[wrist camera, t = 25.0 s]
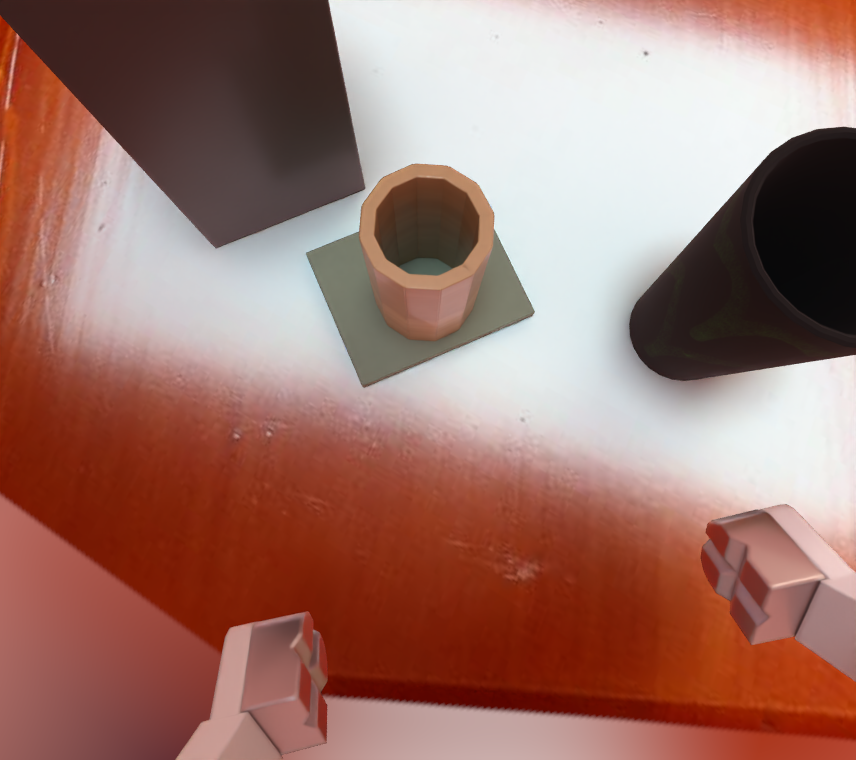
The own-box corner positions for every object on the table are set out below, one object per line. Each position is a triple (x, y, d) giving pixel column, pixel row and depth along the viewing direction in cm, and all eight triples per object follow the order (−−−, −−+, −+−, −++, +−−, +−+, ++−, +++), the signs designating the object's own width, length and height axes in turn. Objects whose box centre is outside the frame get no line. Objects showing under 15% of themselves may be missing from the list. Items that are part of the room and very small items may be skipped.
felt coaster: (363, 387, 28) (362, 386, 27) (307, 257, 29) (305, 252, 29) (532, 315, 29) (535, 311, 28) (471, 190, 30) (472, 185, 29)
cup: (752, 273, 29) (975, 140, 18) (748, 408, 28) (987, 363, 16) (614, 256, 29) (745, 111, 18) (605, 390, 28) (739, 331, 16)
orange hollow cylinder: (402, 356, 28) (395, 312, 20) (360, 272, 28) (337, 196, 21) (490, 315, 28) (517, 254, 20) (446, 232, 29) (456, 143, 21)
